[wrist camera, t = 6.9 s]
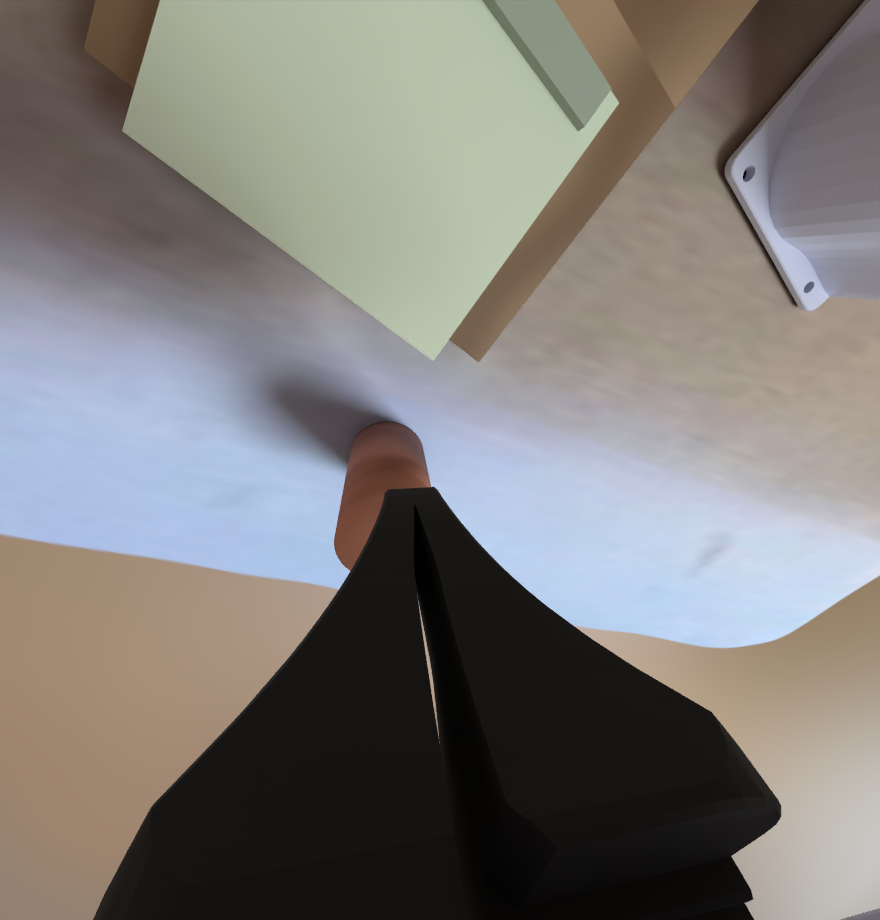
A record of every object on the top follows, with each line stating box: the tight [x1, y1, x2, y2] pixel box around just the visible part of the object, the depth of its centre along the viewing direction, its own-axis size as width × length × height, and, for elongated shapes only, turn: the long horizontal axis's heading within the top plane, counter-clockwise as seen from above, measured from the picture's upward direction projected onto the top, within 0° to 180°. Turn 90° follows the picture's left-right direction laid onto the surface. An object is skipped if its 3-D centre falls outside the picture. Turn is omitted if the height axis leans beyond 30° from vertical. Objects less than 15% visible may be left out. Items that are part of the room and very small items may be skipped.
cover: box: [122, 0, 619, 361], centre depth 10 cm, size 10×9×2 cm
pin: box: [334, 422, 431, 571], centre depth 16 cm, size 4×4×7 cm
